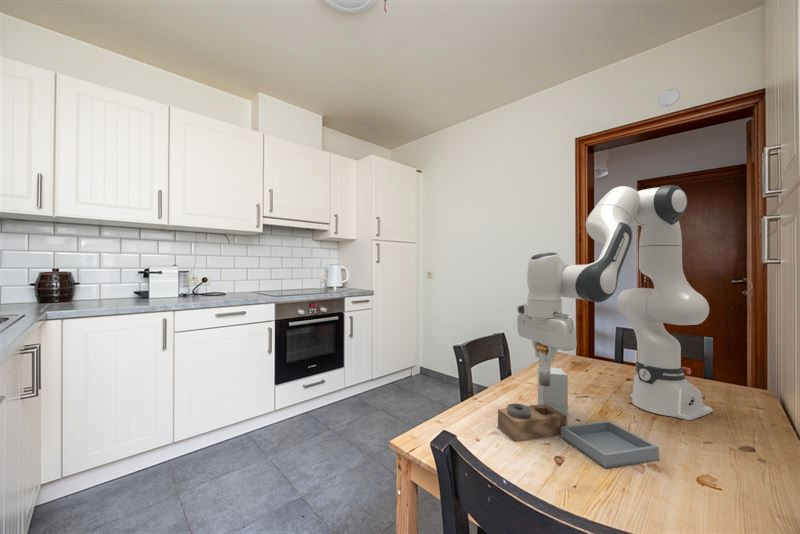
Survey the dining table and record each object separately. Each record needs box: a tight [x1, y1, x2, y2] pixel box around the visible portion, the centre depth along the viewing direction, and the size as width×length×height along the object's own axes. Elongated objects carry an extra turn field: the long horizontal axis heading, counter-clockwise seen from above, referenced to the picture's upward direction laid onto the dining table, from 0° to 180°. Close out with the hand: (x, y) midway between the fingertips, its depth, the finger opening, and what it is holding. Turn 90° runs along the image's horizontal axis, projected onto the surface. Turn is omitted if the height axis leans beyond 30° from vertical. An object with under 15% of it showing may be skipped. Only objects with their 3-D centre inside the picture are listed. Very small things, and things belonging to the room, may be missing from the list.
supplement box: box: [537, 366, 569, 416], centre depth 102 cm, size 7×7×13 cm
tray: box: [560, 420, 660, 470], centre depth 80 cm, size 16×14×3 cm
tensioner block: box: [497, 403, 567, 443], centre depth 89 cm, size 16×8×7 cm, turn 104°
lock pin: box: [537, 343, 551, 387], centre depth 90 cm, size 4×4×11 cm
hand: (544, 359), depth 90 cm, fingers closed on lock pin, 3 cm apart
